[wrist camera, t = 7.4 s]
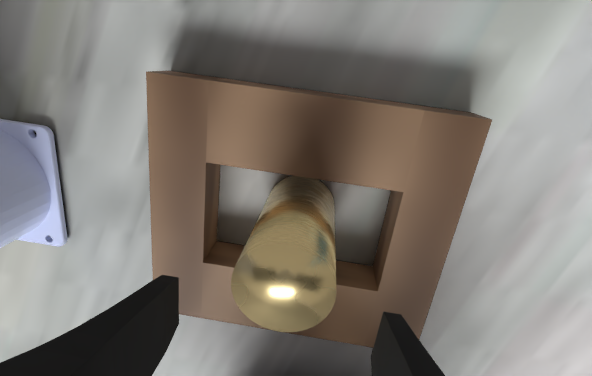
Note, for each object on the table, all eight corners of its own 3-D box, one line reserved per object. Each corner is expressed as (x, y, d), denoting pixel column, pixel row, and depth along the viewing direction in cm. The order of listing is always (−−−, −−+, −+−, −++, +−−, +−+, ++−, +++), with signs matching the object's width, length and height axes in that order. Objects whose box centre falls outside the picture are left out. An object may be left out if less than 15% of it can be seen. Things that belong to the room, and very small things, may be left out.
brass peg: (267, 234, 21) (232, 327, 13) (267, 173, 20) (228, 238, 12) (332, 238, 21) (332, 336, 13) (336, 177, 19) (340, 247, 12)
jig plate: (171, 284, 23) (153, 309, 21) (170, 70, 18) (146, 71, 16) (405, 324, 22) (414, 354, 20) (470, 112, 17) (492, 119, 15)
